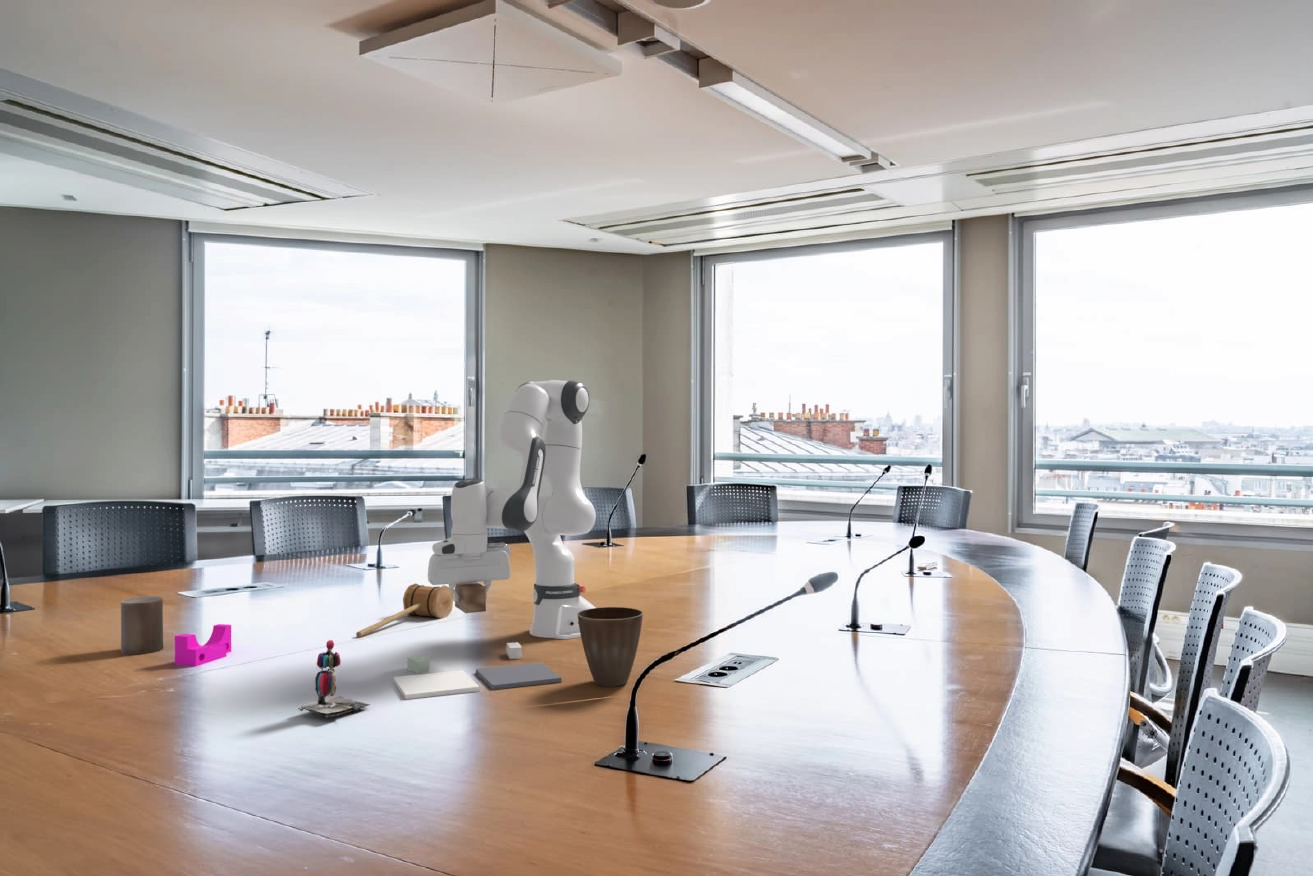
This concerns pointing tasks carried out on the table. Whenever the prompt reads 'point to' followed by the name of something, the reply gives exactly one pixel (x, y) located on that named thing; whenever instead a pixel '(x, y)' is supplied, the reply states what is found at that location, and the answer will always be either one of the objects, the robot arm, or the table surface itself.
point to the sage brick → (418, 664)
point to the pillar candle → (141, 625)
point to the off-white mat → (435, 684)
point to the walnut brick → (471, 597)
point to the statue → (330, 688)
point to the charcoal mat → (517, 675)
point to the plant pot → (610, 642)
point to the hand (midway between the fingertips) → (470, 600)
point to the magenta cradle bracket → (203, 647)
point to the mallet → (420, 604)
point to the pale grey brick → (514, 650)
